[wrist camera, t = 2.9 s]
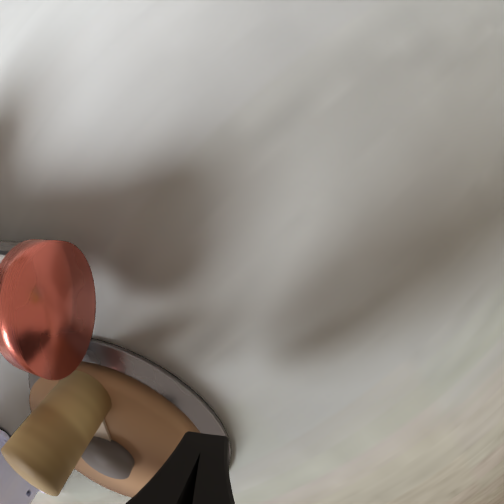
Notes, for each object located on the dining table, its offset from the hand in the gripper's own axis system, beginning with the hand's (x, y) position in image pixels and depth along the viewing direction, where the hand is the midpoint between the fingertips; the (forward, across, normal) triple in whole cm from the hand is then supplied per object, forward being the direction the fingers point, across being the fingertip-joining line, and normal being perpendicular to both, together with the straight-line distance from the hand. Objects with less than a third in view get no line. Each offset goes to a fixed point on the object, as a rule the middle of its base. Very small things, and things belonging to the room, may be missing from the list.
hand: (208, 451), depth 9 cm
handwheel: (+3, +6, +4) cm, 8 cm away
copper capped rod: (+2, +11, -5) cm, 12 cm away
